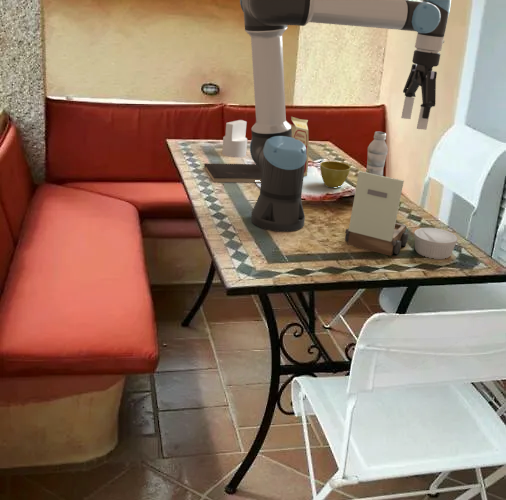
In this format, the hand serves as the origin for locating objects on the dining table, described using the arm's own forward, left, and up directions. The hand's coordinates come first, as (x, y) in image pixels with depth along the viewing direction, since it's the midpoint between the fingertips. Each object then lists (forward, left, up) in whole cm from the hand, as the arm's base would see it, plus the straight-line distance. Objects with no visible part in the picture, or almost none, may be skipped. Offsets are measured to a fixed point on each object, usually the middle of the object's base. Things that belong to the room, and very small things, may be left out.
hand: (413, 123), depth 210 cm
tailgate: (-27, -31, -22) cm, 47 cm away
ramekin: (-8, -34, -27) cm, 44 cm away
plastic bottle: (-1, +16, -27) cm, 31 cm away
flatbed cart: (-22, -26, -27) cm, 44 cm away
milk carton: (-21, +38, -27) cm, 51 cm away
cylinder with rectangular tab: (-35, +62, -27) cm, 76 cm away
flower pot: (-12, +23, -27) cm, 38 cm away
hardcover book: (-40, +36, -28) cm, 61 cm away
